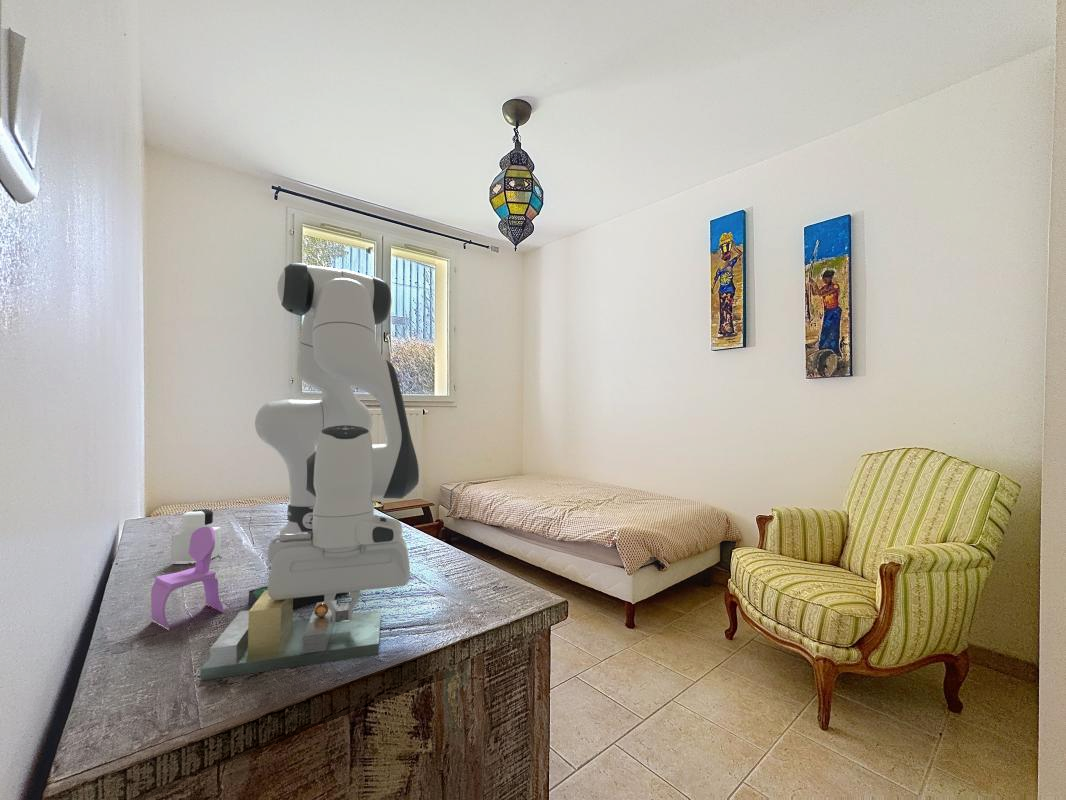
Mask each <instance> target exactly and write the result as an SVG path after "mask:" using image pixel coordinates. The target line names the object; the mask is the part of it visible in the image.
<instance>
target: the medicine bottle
mask: <svg viewBox="0 0 1066 800" xmlns="http://www.w3.org/2000/svg"><path fill="white" fill-rule="evenodd" d="M213 520H214V511H212V510H211V509H207V508H206V509H204V508H202V509H193V510H192V509H191V510H188V511H185V512H184V513H183V514H182V515H181V530H182V531H180V532H176V533H174V534H172V536H171V558H170V559H171V561H196V560H195V559H194V558H192V557H191V555H190V554H189V546H190V539H191V536H192V534H193V532H194V531H196V530H197V529H199V528H201V527H206V526H207V527H212V528H213V529H214V533H215V547H214V550H213V552H212V554H211V557H213V556H215V555H217V554H219V553H220V554H221V534H222V533H221V532H222V527H220V526H213V522H214V521H213Z"/></svg>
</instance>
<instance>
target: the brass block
mask: <svg viewBox="0 0 1066 800" xmlns="http://www.w3.org/2000/svg"><path fill="white" fill-rule="evenodd" d="M251 606H252V605H251ZM293 618H294V610H293V598H291V599H282V600H273V599H271V597H270V596H269V595H268V590H265V591H264V592H263V593H262V595H261V596H260V597H259V599H258V600H257V601H256V602H255V604H254V605H253V606H252V607H250V609H249V621H248V655H254V654H261V653H269V652H276V651H280V650H281V648H282V646H283V644H284V642H285V640H286V638H287V636H288V634H289V632H290V630H291V628H292V626H293V621H294V619H293Z"/></svg>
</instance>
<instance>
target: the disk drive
mask: <svg viewBox="0 0 1066 800" xmlns="http://www.w3.org/2000/svg"><path fill="white" fill-rule="evenodd" d="M265 590H268V585H267V586H262V587H259V588H256V589H255V588H254V589H252V590H248V604H250V605H251V606H253V605H254V604H255V602H256V601H257V600H258V599H259V597H260V596H261V595H262V593H263V592H264V591H265ZM347 594H348V595H350V592H345V593H336V595H335V598H334V599H338V598H340V597H344V596H347ZM323 601H324V595H318V596H309V597H300V598H293V611H296V610H299V609H303V608H306V607H310V606H313V604H314V605H316V603H317V602H323Z"/></svg>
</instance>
